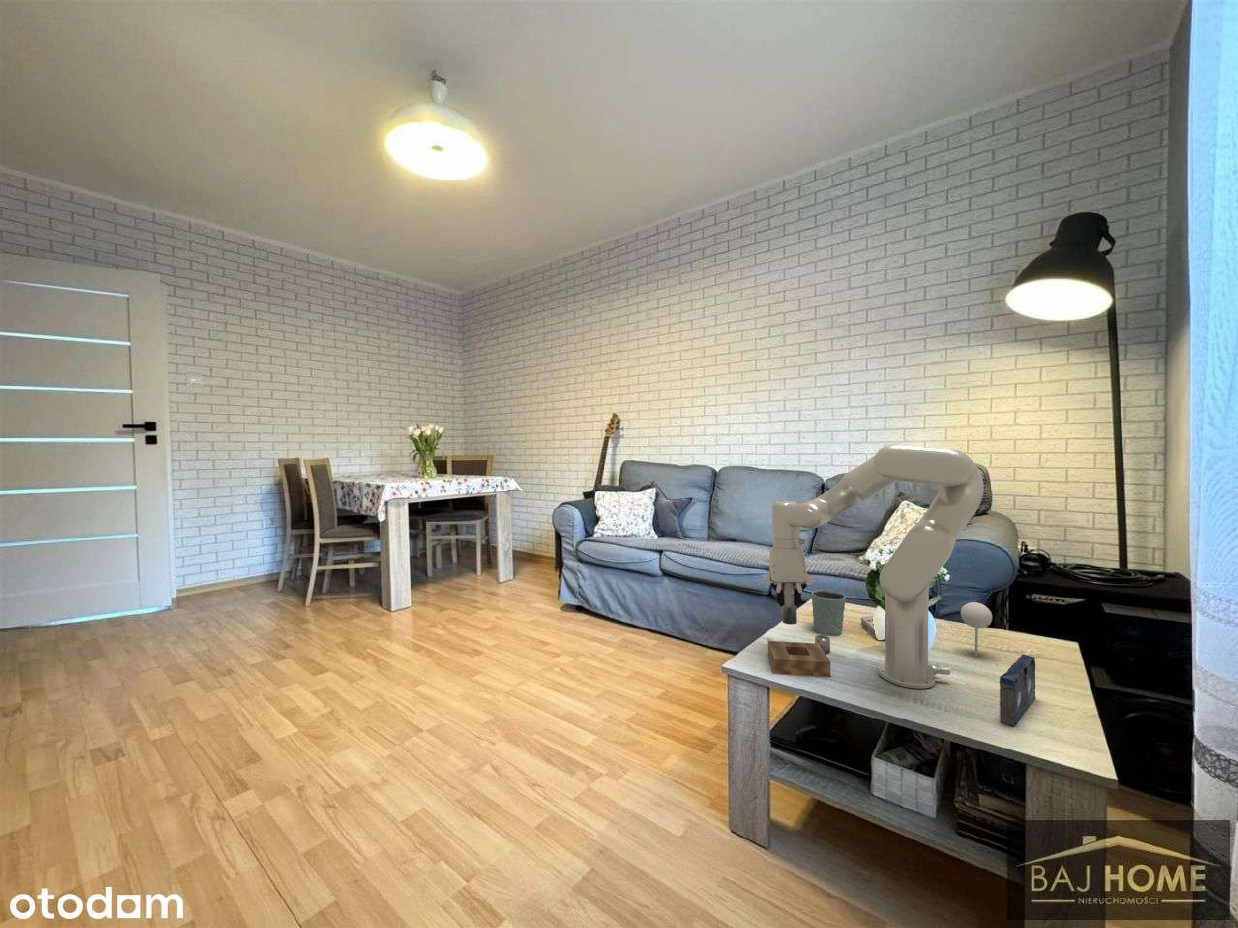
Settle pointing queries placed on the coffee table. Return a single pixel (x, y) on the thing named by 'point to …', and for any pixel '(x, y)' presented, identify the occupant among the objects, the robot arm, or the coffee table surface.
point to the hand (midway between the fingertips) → (788, 604)
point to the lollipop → (976, 618)
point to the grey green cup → (828, 612)
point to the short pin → (823, 643)
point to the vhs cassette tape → (1017, 690)
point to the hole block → (798, 659)
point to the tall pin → (789, 603)
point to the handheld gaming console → (868, 625)
